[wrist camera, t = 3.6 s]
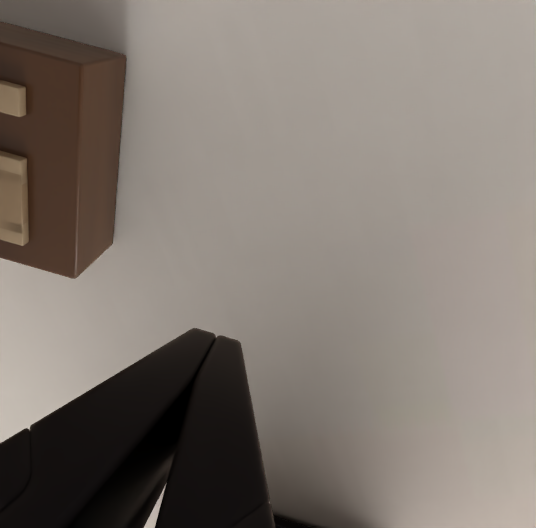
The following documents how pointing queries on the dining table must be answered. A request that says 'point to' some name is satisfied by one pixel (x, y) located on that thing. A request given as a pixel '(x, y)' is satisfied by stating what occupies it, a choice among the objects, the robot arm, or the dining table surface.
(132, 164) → the dining table surface
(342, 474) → the dining table surface
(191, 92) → the dining table surface
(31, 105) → the s tile
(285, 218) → the dining table surface
